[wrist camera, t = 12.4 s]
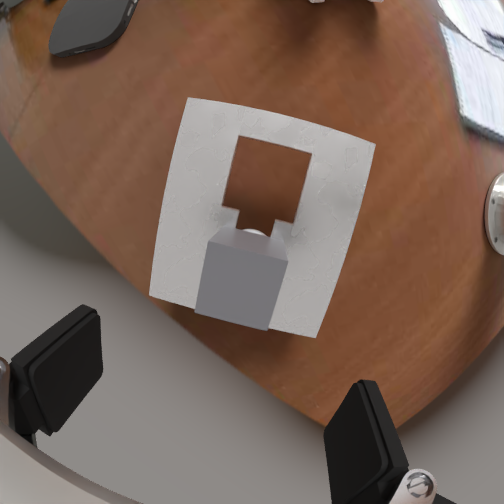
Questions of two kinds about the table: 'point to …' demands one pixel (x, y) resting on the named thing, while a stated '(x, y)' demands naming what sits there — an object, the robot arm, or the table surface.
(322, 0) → the cable organizer
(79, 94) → the table surface
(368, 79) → the table surface
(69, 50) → the media streaming box
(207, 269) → the peg
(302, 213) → the miniature table
